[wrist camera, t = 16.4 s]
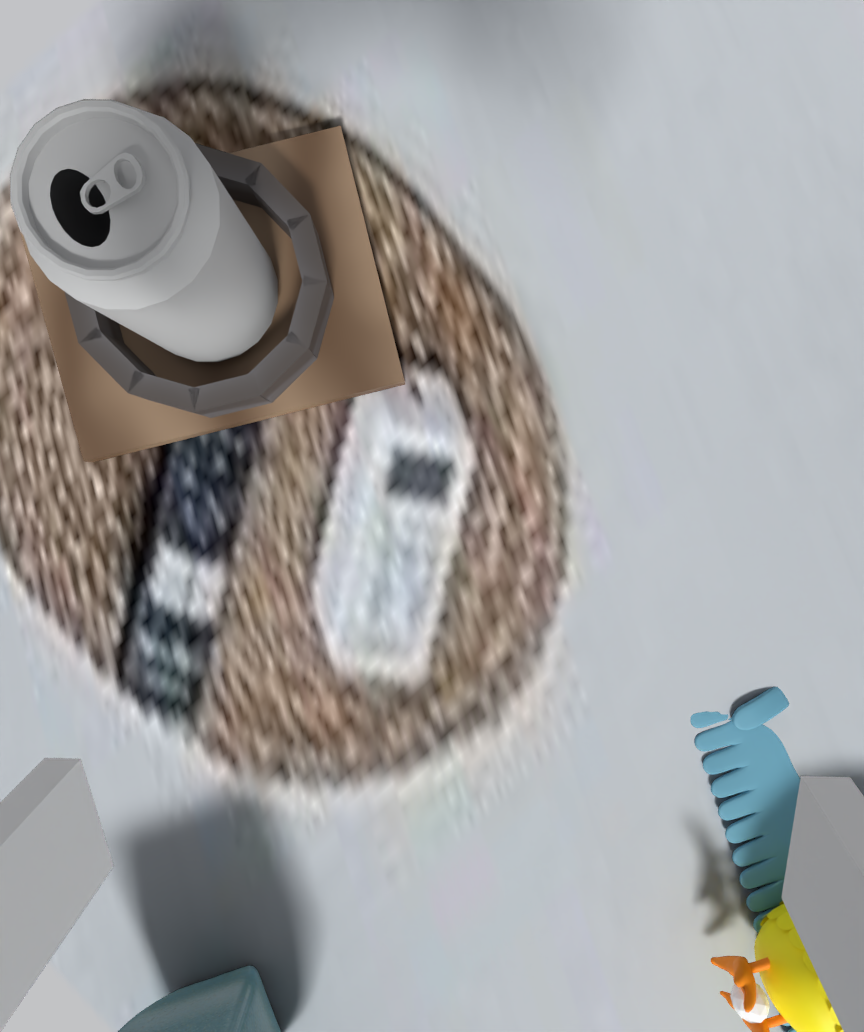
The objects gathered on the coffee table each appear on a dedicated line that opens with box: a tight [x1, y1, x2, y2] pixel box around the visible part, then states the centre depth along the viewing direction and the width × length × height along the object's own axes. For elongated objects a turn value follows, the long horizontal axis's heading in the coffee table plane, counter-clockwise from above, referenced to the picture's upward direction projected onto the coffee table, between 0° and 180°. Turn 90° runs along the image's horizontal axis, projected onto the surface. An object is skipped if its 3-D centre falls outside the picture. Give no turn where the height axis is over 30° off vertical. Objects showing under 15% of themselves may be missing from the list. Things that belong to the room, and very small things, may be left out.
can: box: [10, 99, 278, 362], centre depth 27 cm, size 8×8×12 cm
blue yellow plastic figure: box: [691, 687, 844, 1032], centre depth 33 cm, size 28×9×15 cm
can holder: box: [20, 126, 405, 462], centre depth 32 cm, size 18×14×4 cm
